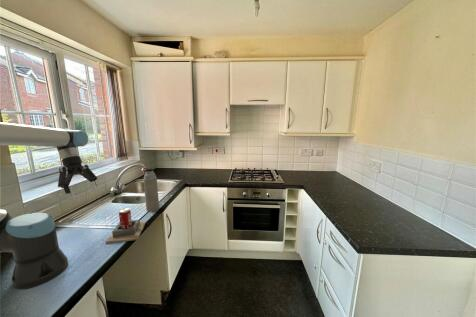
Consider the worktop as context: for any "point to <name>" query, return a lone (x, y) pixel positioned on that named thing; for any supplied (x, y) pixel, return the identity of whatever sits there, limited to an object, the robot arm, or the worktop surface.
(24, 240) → the robot arm
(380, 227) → the worktop surface
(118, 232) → the square socket dock
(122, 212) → the soda can
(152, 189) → the thermos bottle
